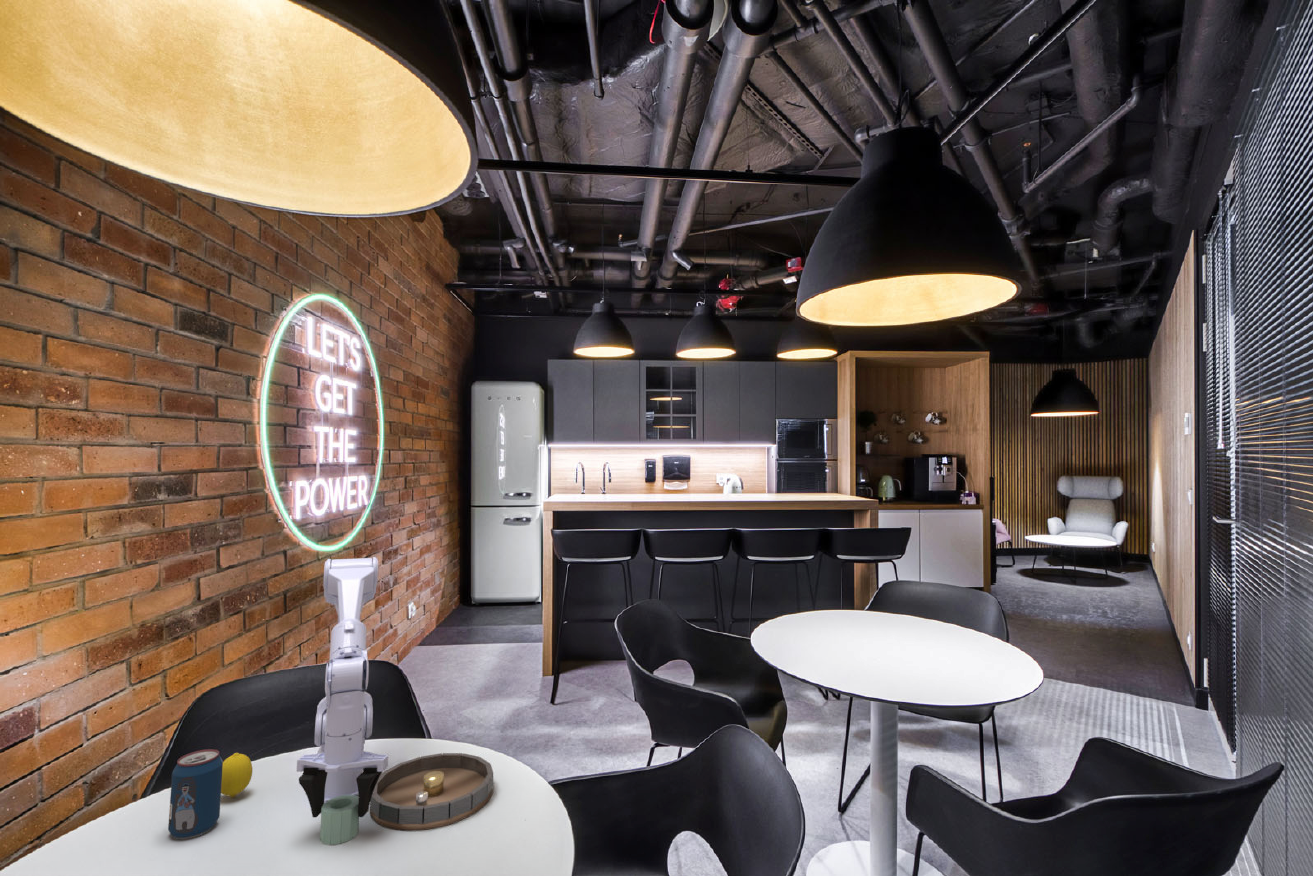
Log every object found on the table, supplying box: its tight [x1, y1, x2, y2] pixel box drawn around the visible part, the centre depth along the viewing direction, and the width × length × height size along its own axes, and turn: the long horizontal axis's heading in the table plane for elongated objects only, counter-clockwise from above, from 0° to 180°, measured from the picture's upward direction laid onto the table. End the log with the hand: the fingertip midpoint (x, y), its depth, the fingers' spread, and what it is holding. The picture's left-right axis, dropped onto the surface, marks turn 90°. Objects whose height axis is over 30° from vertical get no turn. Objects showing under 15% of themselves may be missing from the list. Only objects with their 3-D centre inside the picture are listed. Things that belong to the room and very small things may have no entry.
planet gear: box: [319, 795, 360, 846], centre depth 100 cm, size 6×6×5 cm
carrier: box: [369, 752, 494, 832], centre depth 112 cm, size 22×22×4 cm
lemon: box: [221, 752, 253, 799], centre depth 112 cm, size 6×6×8 cm
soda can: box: [167, 748, 224, 840], centre depth 102 cm, size 7×7×12 cm
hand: (340, 814), depth 100 cm, fingers open, 7 cm apart
